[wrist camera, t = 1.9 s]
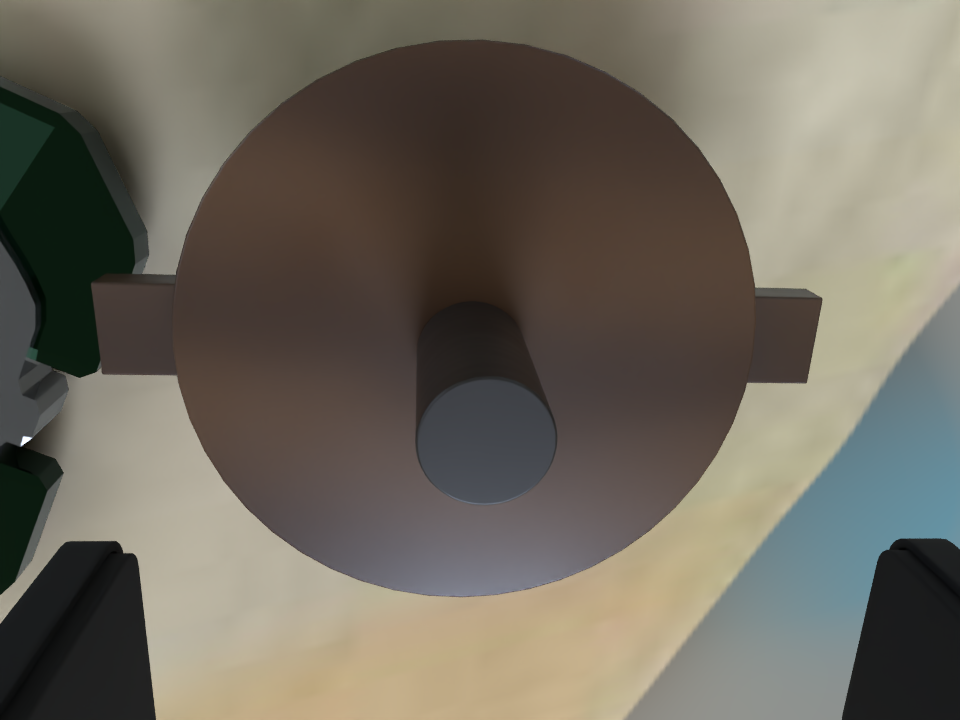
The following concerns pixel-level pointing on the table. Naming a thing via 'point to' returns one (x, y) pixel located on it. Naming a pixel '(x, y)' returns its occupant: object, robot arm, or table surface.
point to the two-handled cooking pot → (149, 351)
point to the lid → (463, 318)
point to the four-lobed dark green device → (49, 290)
